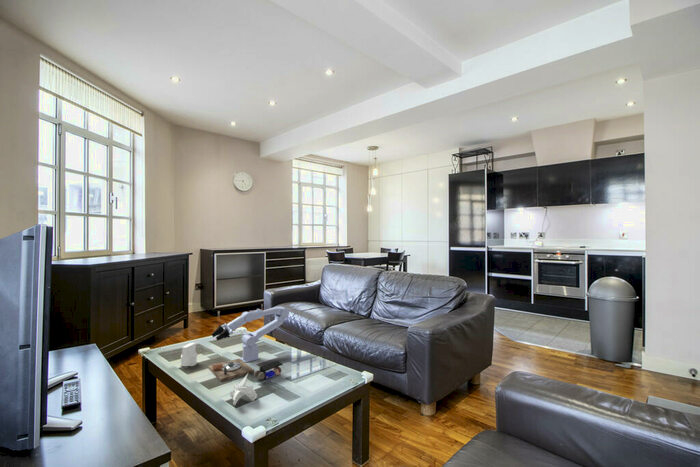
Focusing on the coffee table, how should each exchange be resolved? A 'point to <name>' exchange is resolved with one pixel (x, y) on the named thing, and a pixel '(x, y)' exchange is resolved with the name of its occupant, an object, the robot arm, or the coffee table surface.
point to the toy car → (264, 368)
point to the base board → (226, 375)
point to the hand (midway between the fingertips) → (214, 337)
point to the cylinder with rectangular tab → (189, 355)
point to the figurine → (243, 391)
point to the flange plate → (230, 366)
